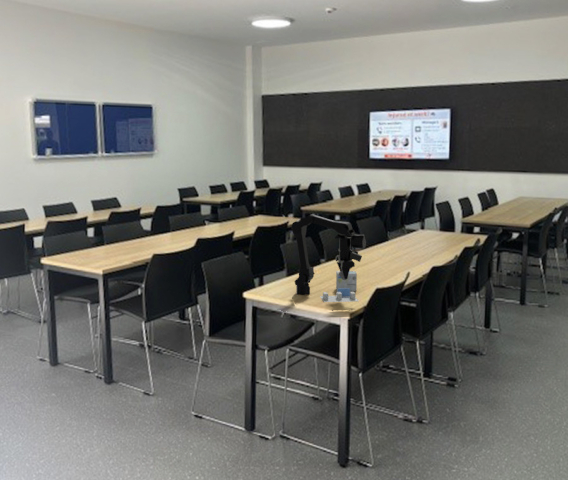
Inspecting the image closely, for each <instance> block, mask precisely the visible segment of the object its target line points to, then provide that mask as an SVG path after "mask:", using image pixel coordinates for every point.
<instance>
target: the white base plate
mask: <svg viewBox="0 0 568 480" xmlns="http://www.w3.org/2000/svg"><path fill="white" fill-rule="evenodd" d="M319 297H320V299H321V300H322V302H324V303H339V302H340V303H342V302H343V303H344V302H348V303H349V302H350V303H351V302H359V299H358V298H357V297H356V292H355V291H350V288H338V291H336V294H335V295H329V293H328V292H327V291H325V292H324V291H323V292H322V295H319Z"/></svg>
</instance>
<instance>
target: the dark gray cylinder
mask: <svg viewBox="0 0 568 480" xmlns="http://www.w3.org/2000/svg"><path fill="white" fill-rule="evenodd" d="M339 271H340V270H339ZM339 276H340V277H341V278H342V279H343V280H346V279H345V278H344V275H343V272H342V271H340V272H339ZM347 278H348V277H347Z"/></svg>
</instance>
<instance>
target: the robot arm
mask: <svg viewBox="0 0 568 480" xmlns="http://www.w3.org/2000/svg"><path fill="white" fill-rule="evenodd" d="M311 224H316V225H318V226H322V227H326V228H328V229H331V230H333V231H335V232H336V233H337V235H336V236H335V237H334V238H335V239H339V243H338V245H339V246H338V247H339V248H338V254H337V255H336V256H335V262H336V264H337V266H338V270H339V271H342V272H343V275H344V278H345V279H347V277H348V274H349V271H351V269H352V268H354V267H355V265H356V264H355V262H354V261H356V262H359V263H360V262H361V260H362V258H363V256H362V255H361V254H360V253H359V251H357V250H354V251H353V250H352V249H351V247H352V248H353V249H365V248H366V246H367V240H366V237H365V234H357V233H356V232H355V230H354V229H353V226H352V223H351V222H349V221H339V220H338V221H337V220H334V219H333V220H332V219H329V218H326V217H322V216H320V215H316V214H314V213H312V214H309V215H307V216H306V217H304V218H302V219H300V220H296V221H293V222H292V224H291V231H292V233H293V235H294V237H295V239H296V246H297V252H298V260H299V269H298V277H297V278H296V279H295V280H294V284H295V286H296V288H295V289H296V290H295V291H296V292H295V293H296V295H300V296H306V295H310V294H311V287H310V283H311V281H312V279H314V277H315V276H314V275H315V274H316V273H315V272H314V266H311V265H310V263H309V255H308V249H307V248H308V247H307V243H306V242H307V241H306V236H307V235H306V234H307V227H308V226H310V225H311ZM353 260H354V261H353Z"/></svg>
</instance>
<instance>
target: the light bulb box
mask: <svg viewBox="0 0 568 480" xmlns="http://www.w3.org/2000/svg"><path fill="white" fill-rule="evenodd" d="M339 272H340V270H336V275H335V276H336V277H335V278H336V279H335V280H336V281H335V283H336V285H335V286H336V289H335V290H336V292H338V288H350V292H357V280H358V279H357V278H358V274H357V272H356V271H355V270H353V271H352V270H349V274H348V278H347V279H346V280H343V279H342V278H341V277H340V276H339Z"/></svg>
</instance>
